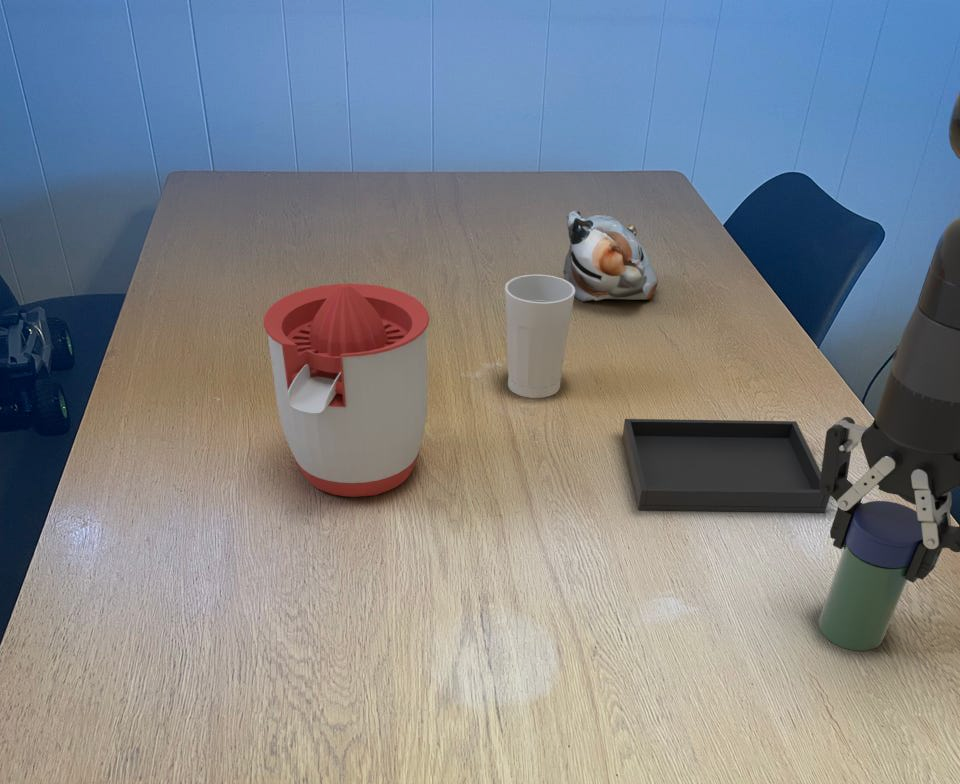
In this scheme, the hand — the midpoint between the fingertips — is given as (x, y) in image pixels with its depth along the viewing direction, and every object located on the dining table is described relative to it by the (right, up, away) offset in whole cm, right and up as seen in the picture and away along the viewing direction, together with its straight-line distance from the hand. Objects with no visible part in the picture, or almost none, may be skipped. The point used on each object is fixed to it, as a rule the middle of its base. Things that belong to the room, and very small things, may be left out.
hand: (876, 559), depth 80 cm
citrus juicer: (-46, +11, +22) cm, 52 cm away
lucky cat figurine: (-15, +42, +57) cm, 73 cm away
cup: (-26, +24, +37) cm, 52 cm away
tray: (-7, +11, +24) cm, 27 cm away
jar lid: (0, +3, -2) cm, 3 cm away
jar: (0, -6, +5) cm, 8 cm away
